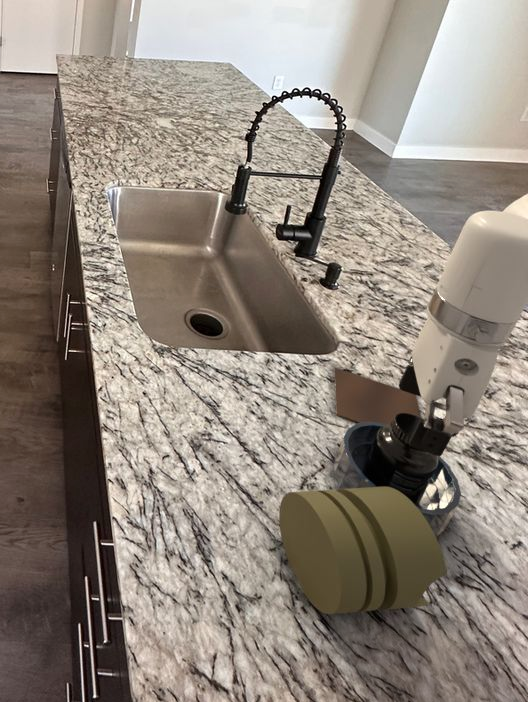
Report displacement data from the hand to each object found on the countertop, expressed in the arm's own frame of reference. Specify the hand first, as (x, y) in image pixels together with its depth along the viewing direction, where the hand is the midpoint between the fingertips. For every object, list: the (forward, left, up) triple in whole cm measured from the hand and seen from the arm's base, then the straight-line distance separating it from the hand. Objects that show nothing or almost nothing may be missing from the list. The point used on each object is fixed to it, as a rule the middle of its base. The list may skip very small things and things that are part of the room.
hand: (417, 419), depth 69 cm
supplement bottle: (0, 0, -14) cm, 14 cm away
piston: (+6, +15, -14) cm, 21 cm away
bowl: (0, 0, -14) cm, 14 cm away
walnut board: (0, -16, -14) cm, 21 cm away
